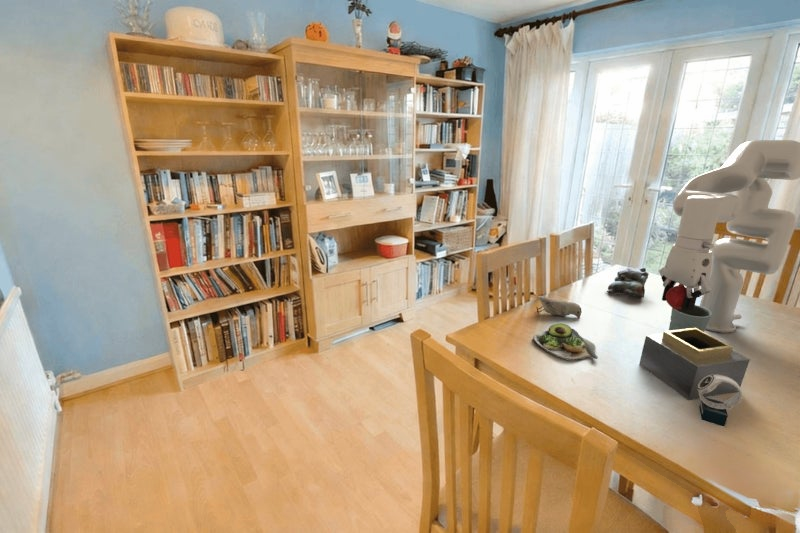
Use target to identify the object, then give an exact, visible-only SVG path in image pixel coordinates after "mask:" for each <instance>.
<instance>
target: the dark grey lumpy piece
mask: <svg viewBox="0 0 800 533" xmlns="http://www.w3.org/2000/svg"><path fill="white" fill-rule="evenodd" d="M649 275H650V274H649V272H648V271H647V269H646V267H643V268H637V267H627V268H626V269H623V270H619V271H617V275H616V276H615V277H614V282H611V283H610V284H609V285H608V287H607V290H606V292H607V293H608V294H622V295H626V296H627V295H628V296H633V297H637V298H639V299H642V298H645V294H646V293H645V292H646V289H645V285H646V282H647V280H648V278H649Z"/></svg>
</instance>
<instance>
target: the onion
mask: <svg viewBox="0 0 800 533" xmlns="http://www.w3.org/2000/svg"><path fill="white" fill-rule="evenodd" d="M684 297H687V288H686V286H684V285H682V284H680V283H678V285H675V286H674V287H672V288H671V289H669V290H668V291H667V293H666V303H667V305H669V306H670V307H671V309H672V308H673V309H675V310H677V309H681V308H682V305H683V301H684Z"/></svg>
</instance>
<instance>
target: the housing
mask: <svg viewBox="0 0 800 533" xmlns="http://www.w3.org/2000/svg"><path fill="white" fill-rule="evenodd" d="M750 360H751V359H750V358H748V357H746V356H744V355H742V354H741V353H739V352H737V351H735V350H734V346H733V345H730V344H728V343H727V342H725V341H723V340H720V339H719V338H717V337H715V336H713V335H711V334H709V333H707V332H705V331H704V332H703V331H701V330H699V329H697V328H688V329H680V330H672V331H668V330H665V331H663V332H662V333H652V334H646V335H645V339H644V343H643V347H642V351H641V356H640V359H639V363H638V364H639V366H640V367H641V368H643V369H644V370H645V371H646V372H648V373H649V374H650V375H653V376H654V377H655V378H656V379H658V380H659V381H661V382H662V383H663V384H665V385H666V386H668V387H669V388H670V389H672V390H673V391H675V392H676V393H677V394H679V395H680V396H682V397H683V398H685V399H686V400H687V401H691V400H692V401H693V400H697V399H700V397H699V392H698V389H697V385H698V383H699V381H700V380H701V379H702V378H704V377H705V376H707V375H710V374H713V375H722V376H726V377H729V378H731V379H733V380H734V381H735V382H736V383H737V384H738V385H739V387H740V388H741V386H742V383H743V381H744V378H745V375H746V371H747V369H748V366H749V364H750ZM721 382H722V381H721ZM737 392H739V390H738V389H737V388H736V387H735V386H734V385H732V384H730V383H727V382H722V383H721V384H718V385H717V387H716V388H715V389H714V390H713V391H711V392H709V393H704V394H703V395H702V396H703V397H706V398H709V397H710V398H711V397H716V396H721V395H729V394H734V393H735V394H736V393H737Z"/></svg>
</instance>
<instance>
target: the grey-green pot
mask: <svg viewBox="0 0 800 533" xmlns="http://www.w3.org/2000/svg"><path fill="white" fill-rule="evenodd" d="M711 315H712V313H711V312H710V311H709V310H707V309H705V308H703V307H701V306H700V305H697V304H695V306H694V309H693V310H688V311H683V310H682V309H677V310H675V309H673V308H672V307H671V314H670V321H669V327H668V330H667V331H672V330H680V329H688V328H697V329H699V330H701V331H703V332H705V331H706V329H705V328H706V327H707V325H708V322H709V320H710V318H711Z"/></svg>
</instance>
